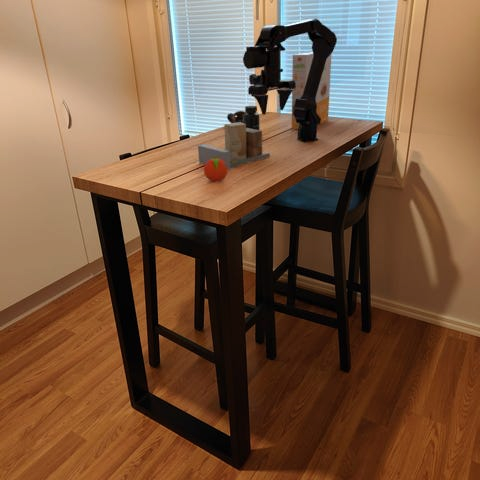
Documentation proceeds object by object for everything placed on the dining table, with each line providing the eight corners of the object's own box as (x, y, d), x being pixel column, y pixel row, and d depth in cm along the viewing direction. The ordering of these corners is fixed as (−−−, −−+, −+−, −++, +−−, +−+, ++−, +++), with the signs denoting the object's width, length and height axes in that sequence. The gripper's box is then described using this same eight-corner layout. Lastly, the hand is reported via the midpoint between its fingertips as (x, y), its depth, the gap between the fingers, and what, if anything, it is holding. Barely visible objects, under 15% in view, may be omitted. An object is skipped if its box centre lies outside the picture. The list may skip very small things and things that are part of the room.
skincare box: (230, 162, 144) (229, 126, 139) (225, 159, 148) (223, 124, 142) (247, 159, 147) (246, 123, 141) (241, 157, 150) (240, 121, 145)
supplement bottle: (258, 138, 175) (257, 107, 170) (242, 137, 176) (240, 107, 171) (261, 134, 181) (260, 104, 176) (245, 134, 182) (244, 105, 177)
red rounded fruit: (230, 184, 124) (229, 160, 121) (207, 187, 123) (205, 163, 120) (225, 176, 131) (224, 153, 128) (203, 178, 130) (201, 156, 127)
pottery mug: (254, 126, 198) (254, 112, 191) (245, 139, 194) (244, 125, 187) (231, 118, 201) (230, 104, 194) (221, 131, 197) (220, 117, 190)
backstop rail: (245, 150, 158) (244, 134, 155) (272, 157, 149) (272, 139, 146) (199, 162, 146) (197, 145, 143) (225, 170, 136) (224, 152, 134)
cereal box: (316, 119, 204) (318, 51, 190) (328, 121, 200) (331, 51, 187) (291, 129, 188) (292, 54, 174) (304, 130, 184) (306, 54, 171)
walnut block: (244, 152, 155) (244, 127, 151) (262, 156, 149) (261, 130, 145) (236, 154, 153) (235, 129, 149) (253, 159, 147) (253, 132, 143)
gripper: (273, 62, 159) (274, 106, 166) (236, 68, 148) (238, 114, 155) (296, 63, 151) (296, 109, 158) (259, 69, 140) (260, 117, 147)
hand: (272, 112), depth 155 cm, fingers open, 9 cm apart
